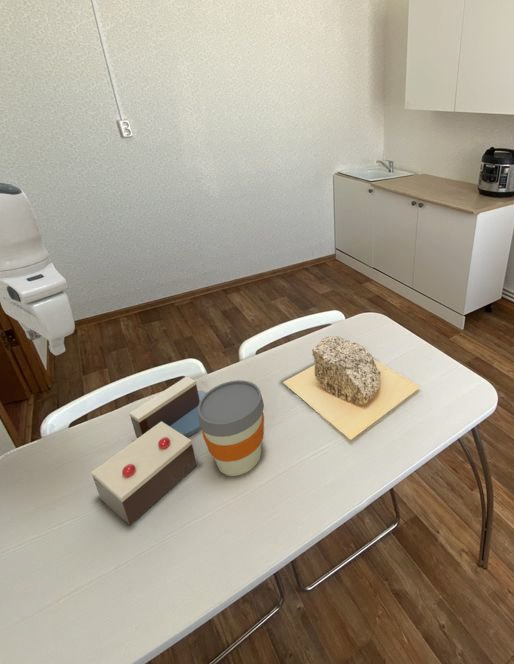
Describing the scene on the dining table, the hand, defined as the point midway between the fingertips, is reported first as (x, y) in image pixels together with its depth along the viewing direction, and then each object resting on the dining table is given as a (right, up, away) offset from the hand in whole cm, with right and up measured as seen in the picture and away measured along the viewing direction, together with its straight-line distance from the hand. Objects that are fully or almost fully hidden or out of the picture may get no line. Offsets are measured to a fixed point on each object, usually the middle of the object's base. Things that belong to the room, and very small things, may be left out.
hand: (46, 345), depth 71 cm
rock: (+55, -19, +30) cm, 66 cm away
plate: (+15, -23, +22) cm, 35 cm away
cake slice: (+13, -22, +19) cm, 32 cm away
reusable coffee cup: (+32, -27, +11) cm, 43 cm away
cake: (+16, -29, +6) cm, 33 cm away
